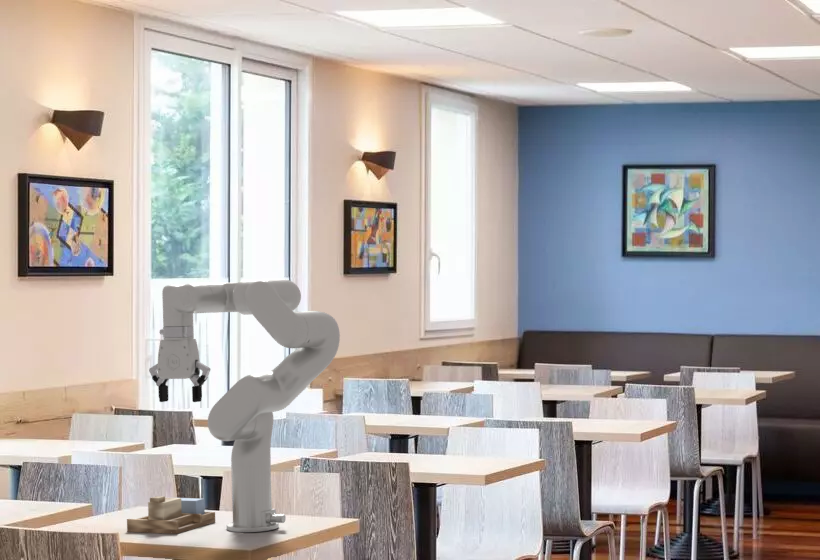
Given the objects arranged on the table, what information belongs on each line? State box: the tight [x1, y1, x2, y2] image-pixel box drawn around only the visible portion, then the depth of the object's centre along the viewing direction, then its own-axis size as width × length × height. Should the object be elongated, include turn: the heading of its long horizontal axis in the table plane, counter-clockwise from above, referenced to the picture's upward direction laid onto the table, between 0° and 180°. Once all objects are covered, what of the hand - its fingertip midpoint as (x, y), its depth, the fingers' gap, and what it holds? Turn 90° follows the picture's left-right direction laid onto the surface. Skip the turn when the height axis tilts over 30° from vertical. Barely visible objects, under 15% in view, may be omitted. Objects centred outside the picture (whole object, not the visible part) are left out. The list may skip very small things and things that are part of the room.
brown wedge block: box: [147, 495, 182, 520], centre depth 351 cm, size 4×9×7 cm, turn 157°
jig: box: [126, 511, 216, 535], centre depth 354 cm, size 14×18×3 cm
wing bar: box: [180, 497, 206, 515], centre depth 359 cm, size 10×4×5 cm, turn 67°
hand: (180, 401), depth 361 cm, fingers open, 9 cm apart
